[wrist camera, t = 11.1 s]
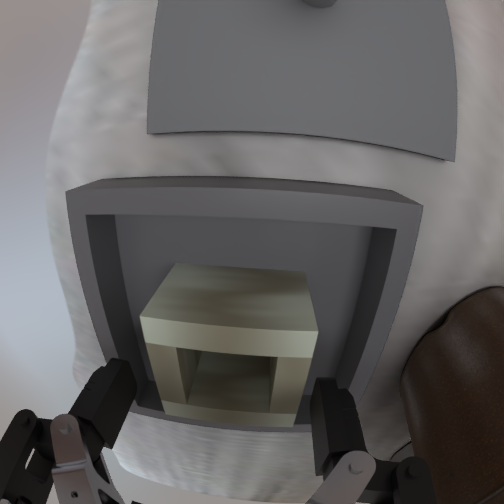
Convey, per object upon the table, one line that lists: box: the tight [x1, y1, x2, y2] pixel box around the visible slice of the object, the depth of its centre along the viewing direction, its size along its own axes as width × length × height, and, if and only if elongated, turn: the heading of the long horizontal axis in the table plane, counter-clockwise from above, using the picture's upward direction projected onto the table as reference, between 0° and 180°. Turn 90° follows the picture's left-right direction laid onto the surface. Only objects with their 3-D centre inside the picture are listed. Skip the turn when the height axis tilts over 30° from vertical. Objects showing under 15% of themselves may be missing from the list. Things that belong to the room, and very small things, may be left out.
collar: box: [140, 263, 318, 427], centre depth 12 cm, size 6×6×4 cm
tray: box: [65, 176, 423, 432], centre depth 13 cm, size 14×14×3 cm
